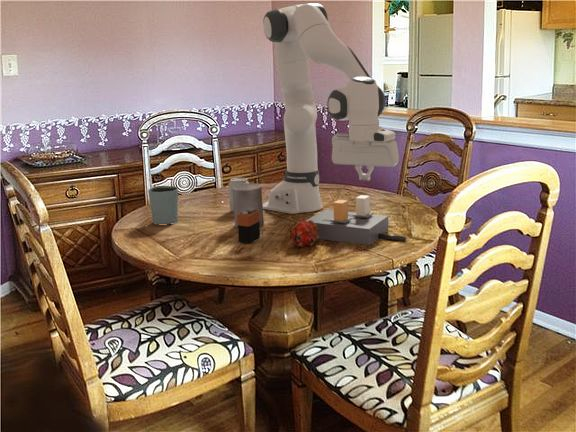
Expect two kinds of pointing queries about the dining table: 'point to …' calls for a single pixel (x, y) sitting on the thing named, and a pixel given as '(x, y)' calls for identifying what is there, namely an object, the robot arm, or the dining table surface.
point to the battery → (248, 226)
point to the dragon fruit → (304, 233)
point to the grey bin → (164, 204)
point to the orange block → (341, 211)
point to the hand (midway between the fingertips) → (364, 179)
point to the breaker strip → (353, 228)
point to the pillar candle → (248, 199)
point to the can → (233, 182)
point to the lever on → (363, 207)
